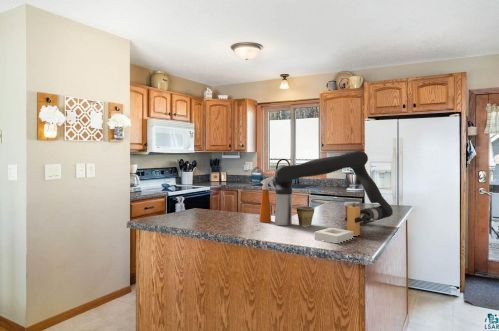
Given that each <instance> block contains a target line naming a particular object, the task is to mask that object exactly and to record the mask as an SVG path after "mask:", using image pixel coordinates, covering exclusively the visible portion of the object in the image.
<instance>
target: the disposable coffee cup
mask: <svg viewBox="0 0 499 331" xmlns="http://www.w3.org/2000/svg"><path fill="white" fill-rule="evenodd" d="M352 203H355V206H356V207H360V208H361V206H362V204H361V202H359V201H352V200H348V201H347V200H346V201H345V202H344V204H343V206H344V210H345V215H346V214H347V207H349V206H352Z"/></svg>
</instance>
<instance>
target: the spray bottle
mask: <svg viewBox="0 0 499 331" xmlns="http://www.w3.org/2000/svg"><path fill="white" fill-rule="evenodd" d="M274 180H275V176H270V177H267V178H264V179H261V181H260V184H261V185H262V189H261V200H260V209H259V210H260V211H259V217H258V221H259V222H260V223H270V222H272V215H271V214H272V213H271V203H270V192H269V185H270V186H271V188H272V189H273V190H274V191H276V190H275V184H274Z"/></svg>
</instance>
